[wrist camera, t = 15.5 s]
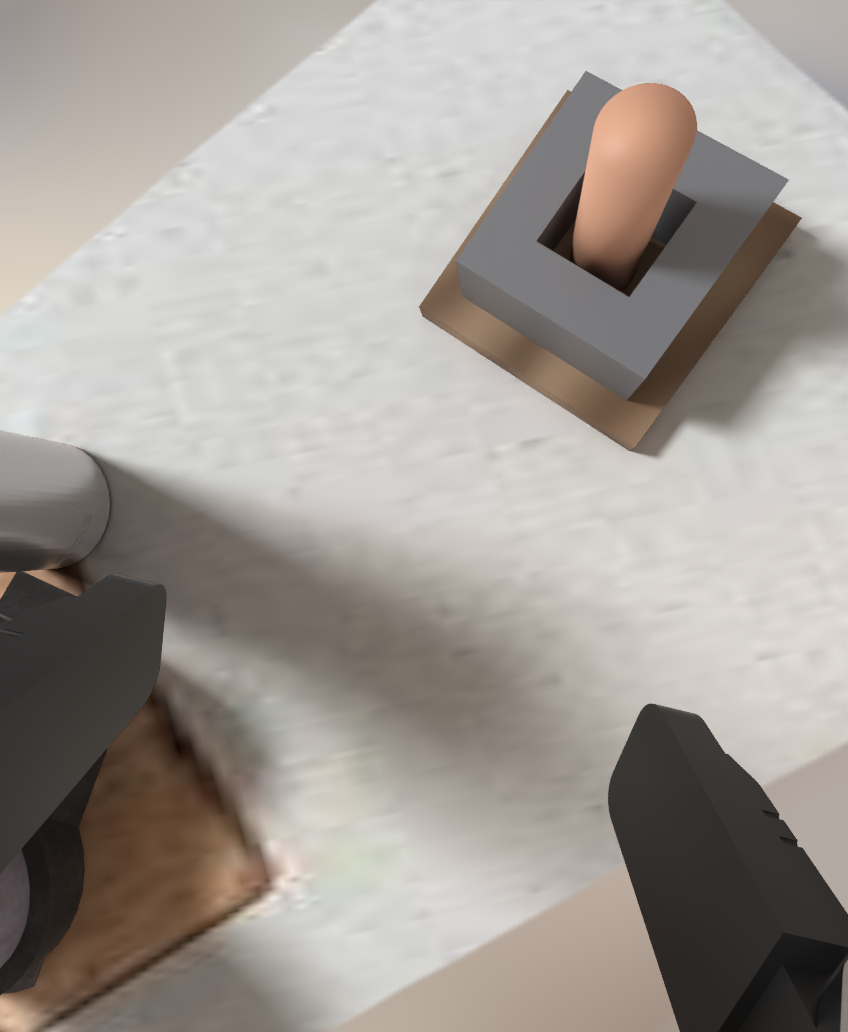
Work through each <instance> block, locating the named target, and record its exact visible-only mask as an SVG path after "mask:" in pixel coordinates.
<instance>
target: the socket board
mask: <svg viewBox="0 0 848 1032" xmlns="http://www.w3.org/2000/svg"><path fill="white" fill-rule="evenodd" d="M570 93H571V92H570V91H569V90H567V92H566V93H565V94H564V96H563V97H562V99H561V100H560V102H559V103H558V105H557V106H556V108H555V109H554V111H553V112H552V113H551V115H550V116H549V118H548V119H547V121H546V122H545V124H544V125H543V127H542V128H541V130H540V131H539V132H538V134H537V135H536V137H535V138H534V140H533V141H532V143H531V144H530V146H529V147H528V149H527V150H526V151H525V153H524V154H523V156H522V157H521V159H520V160H519V162H518V163H517V165H516V166H515V167H514V169H513V170H512V172H511V173H510V175H509V176H508V178H507V179H506V181H505V182H504V184H503V185H502V186H501V188H500V189H499V191H498V192H497V194H496V195H495V197H494V198H493V200H492V201H491V203H490V204H489V205H488V207H487V208H486V210H485V211H484V213H483V214H482V216H481V217H480V219H479V220H478V222H477V223H476V224H475V226H474V227H473V229H472V230H471V232H470V233H469V235H468V236H467V238H466V239H465V241H464V242H463V243H462V245H461V246H460V248H459V249H458V251H457V252H456V254H455V255H454V257H453V258H452V259H451V261H450V262H449V264H448V265H447V267H446V268H445V270H444V271H443V273H442V274H441V276H440V277H439V278H438V280H437V281H436V283H435V284H434V286H433V287H432V289H431V290H430V292H429V293H428V295H427V296H426V297H425V299H424V300H423V302H422V303H421V305H420V306H419V308H420V311H421V313H422V316H423V317H425V318H426V319H428V320H429V321H431V322H432V323H434V324H435V325H437V326H438V327H440V328H441V329H443V330H445V331H446V332H448V333H449V334H451V335H452V336H454V337H455V338H457V339H458V340H460V341H461V342H463V343H464V344H466V345H468V346H469V347H471V348H472V349H474V350H475V351H477V352H478V353H480V354H481V355H483V356H484V357H486V358H488V359H489V360H491V361H492V362H494V363H495V364H497V365H498V366H500V367H501V368H503V369H504V370H506V371H507V372H509V373H511V374H512V375H514V376H515V377H517V378H518V379H520V380H521V381H523V382H524V383H526V384H527V385H529V386H531V387H532V388H534V389H535V390H537V391H538V392H540V393H541V394H543V395H544V396H546V397H547V398H549V399H550V400H552V401H554V402H555V403H557V404H558V405H560V406H561V407H563V408H564V409H566V410H567V411H569V412H570V413H572V414H574V415H575V416H577V417H578V418H580V419H581V420H583V421H584V422H586V423H587V424H589V425H590V426H592V427H593V428H595V429H597V430H598V431H600V432H601V433H603V434H604V435H606V436H607V437H609V438H610V439H612V440H613V441H615V442H616V443H618V444H620V445H621V446H623V447H624V448H626V449H627V450H629V451H630V450H632V449H633V448H634V447H636V445H637V444H638V442H639V441H640V440H641V438H642V437H643V436H644V434H645V433H646V431H647V430H648V429H649V427H650V426H651V425H652V423H653V422H654V420H655V419H656V418H657V416H658V415H659V414H660V412H661V411H662V409H663V408H664V407H665V405H666V404H667V403H668V401H669V400H670V398H671V397H672V396H673V394H674V393H675V392H676V390H677V389H678V387H679V386H680V385H681V383H682V382H683V381H684V379H685V378H686V376H687V375H688V374H689V372H690V371H691V370H692V368H693V367H694V366H695V364H696V363H697V361H698V360H699V359H700V357H701V356H702V355H703V353H704V352H705V350H706V349H707V348H708V346H709V345H710V344H711V342H712V341H713V339H714V338H715V337H716V335H717V334H718V333H719V331H720V330H721V328H722V327H723V326H724V324H725V323H726V322H727V320H728V319H729V317H730V316H731V315H732V313H733V312H734V311H735V309H736V308H737V306H738V305H739V304H740V302H741V301H742V300H743V298H744V297H745V295H746V294H747V293H748V291H749V290H750V289H751V287H752V286H753V284H754V283H755V282H756V280H757V279H758V278H759V276H760V275H761V274H762V272H763V271H764V269H765V268H766V267H767V265H768V264H769V263H770V261H771V260H772V258H773V257H774V256H775V254H776V253H777V252H778V250H779V249H780V247H781V246H782V245H783V243H784V242H785V241H786V239H787V238H788V236H789V235H790V234H791V232H792V231H793V230H794V228H795V227H796V225H797V224H798V223H799V221H800V220H801V219H802V218H801V217H799V216H797V215H796V214H794V213H792V212H790V211H788V210H786V209H785V208H783V207H781V206H779V205H777V204H775V203H774V202H773V203H772V204H771V205H770V207H769V208H768V210H767V211H766V212H765V214H764V215H763V217H762V218H761V219H760V221H759V222H758V223H757V225H756V226H755V228H754V229H753V230H752V232H751V233H750V235H749V236H748V237H747V239H746V240H745V241H744V243H743V244H742V246H741V247H740V248H739V250H738V251H737V253H736V254H735V255H734V257H733V258H732V259H731V261H730V262H729V264H728V265H727V266H726V268H725V269H724V271H723V272H722V273H721V275H720V276H719V277H718V279H717V280H716V282H715V283H714V284H713V286H712V287H711V289H710V290H709V291H708V293H707V294H706V295H705V297H704V298H703V300H702V301H701V302H700V304H699V305H698V306H697V308H696V309H695V311H694V312H693V313H692V315H691V316H690V318H689V319H688V320H687V322H686V323H685V324H684V326H683V327H682V329H681V330H680V331H679V333H678V334H677V336H676V337H675V338H674V340H673V341H672V342H671V344H670V345H669V347H668V348H667V349H666V351H665V352H664V354H663V355H662V356H661V358H660V359H659V360H658V362H657V363H656V365H655V366H654V367H653V369H652V370H651V372H650V373H649V374H648V376H647V377H646V378H645V380H644V381H643V382H642V383H641V384H640V385H639V387H638V388H637V389H636V390H635V391H634V392H633V394H632V395H631V396H630V397H629V398H628V399H627V401H626V400H624V399H623V398H621V397H620V396H618V395H617V394H615V393H613V392H612V391H610V390H609V389H607V388H605V387H604V386H602V385H601V384H599V383H598V382H596V381H594V380H593V379H591V378H590V377H588V376H587V375H585V374H583V373H582V372H580V371H579V370H577V369H576V368H574V367H572V366H571V365H569V364H568V363H566V362H565V361H563V360H561V359H560V358H558V357H557V356H555V355H554V354H552V353H550V352H549V351H547V350H546V349H544V348H543V347H541V346H539V345H538V344H536V343H535V342H533V341H532V340H530V339H528V338H527V337H525V336H524V335H522V334H521V333H519V332H517V331H516V330H514V329H513V328H511V327H510V326H508V325H506V324H505V323H503V322H502V321H500V320H499V319H497V318H495V317H494V316H492V315H491V314H489V313H488V312H486V311H484V310H483V309H481V308H480V307H478V306H477V305H475V304H473V303H472V302H470V301H469V300H467V299H466V298H464V297H463V296H462V290H461V285H460V280H459V275H458V270H457V265H456V260H457V258H458V257H459V255H460V254H461V252H462V251H463V249H464V248H465V246H466V245H467V243H468V242H469V241H470V239H471V238H472V236H473V235H474V233H475V232H476V230H477V229H478V227H479V226H480V225H481V223H482V222H483V220H484V219H485V217H486V216H487V214H488V213H489V211H490V210H491V208H492V207H493V206H494V204H495V203H496V201H497V200H498V198H499V197H500V195H501V194H502V192H503V191H504V190H505V188H506V187H507V185H508V184H509V182H510V181H511V179H512V178H513V176H514V175H515V173H516V172H517V171H518V169H519V168H520V166H521V165H522V163H523V162H524V160H525V159H526V157H527V156H528V155H529V153H530V152H531V150H532V149H533V147H534V146H535V144H536V143H537V141H538V140H539V138H540V137H541V136H542V134H543V133H544V131H545V130H546V128H547V127H548V125H549V124H550V122H551V121H552V120H553V118H554V117H555V115H556V114H557V112H558V111H559V109H560V108H561V106H562V105H563V103H564V102H565V101H566V99H567V98H568V96H569V95H570ZM575 223H576V219H575V221H574V222H573V223H572V225H571V226H570V228H569V229H568V231H567V232H566V233H565V235H564V236H563V238H562V239H561V241H560V242H559V243H558V245H557V246H556V248H555V249H554V251H553V252H555V253H557V254H558V255H560V256H562V257H563V258H565V259H567V260H568V259H569V254H570V249H571V244H572V239H573V233H574V228H575ZM665 246H666V245H665V244H663V243H661V242H659V241H658V240H656V239H654V238H652V237H651V239H650V241H649V243H648V245H647V247H646V250H645V252H644V254H643V256H642V258H641V261H640V263H639V265H638V267H637V269H636V272H635V274H634V276H633V278H632V280H631V282H630V283H629V284H628V286H627V287H626V288H625V289H623V290H622V291H621V293H623V294H625V295H626V296H628V297H630V296H631V294H632V293H633V291H634V290H635V289H636V287H637V286H638V284H639V283H640V282H641V280H642V279H643V277H644V276H645V275H646V273H647V272H648V270H649V269H650V268H651V266H652V265H653V263H654V262H655V261H656V259H657V258H658V256H659V255H660V253H661V252H662V251H663V249H664V248H665Z"/></svg>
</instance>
